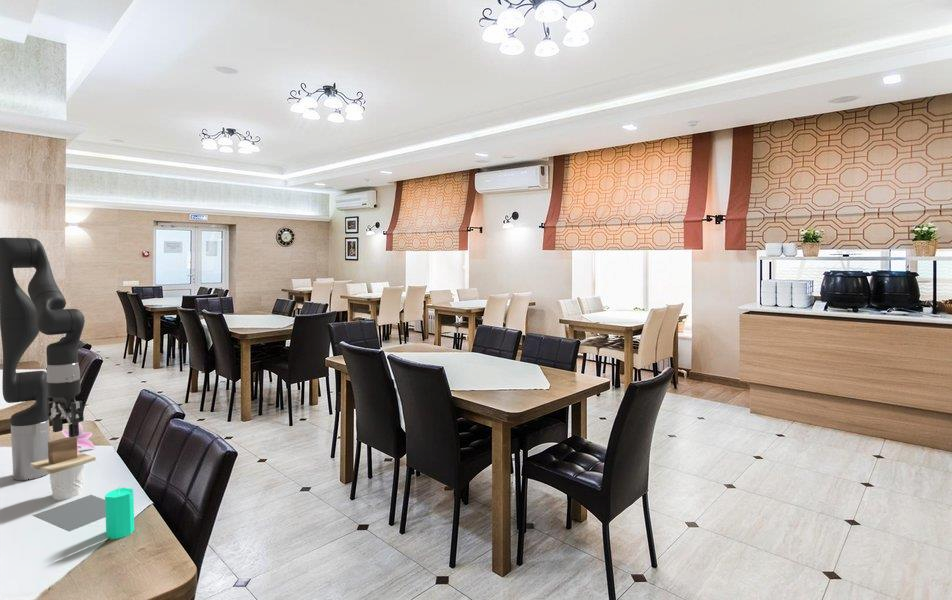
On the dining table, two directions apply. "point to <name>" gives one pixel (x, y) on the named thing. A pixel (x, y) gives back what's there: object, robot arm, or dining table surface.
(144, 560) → the dining table surface
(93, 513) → the mat
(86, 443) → the lily
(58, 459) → the lid
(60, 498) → the white cup
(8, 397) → the robot arm
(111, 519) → the candle
